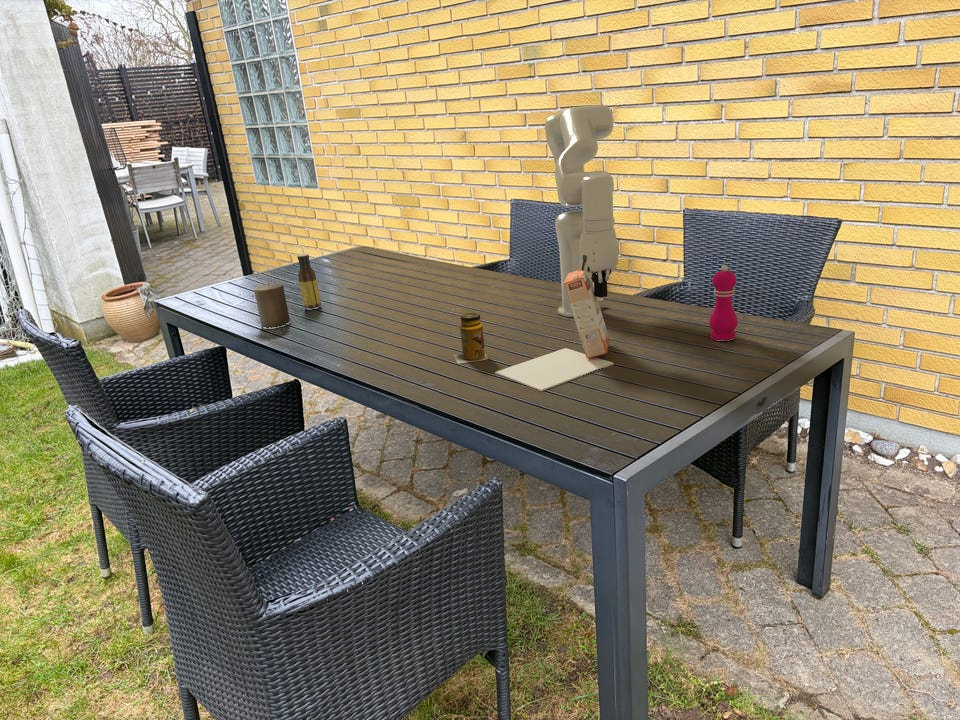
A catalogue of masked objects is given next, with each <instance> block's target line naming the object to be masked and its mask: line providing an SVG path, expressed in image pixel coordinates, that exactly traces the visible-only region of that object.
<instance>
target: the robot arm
mask: <svg viewBox="0 0 960 720" xmlns="http://www.w3.org/2000/svg"><path fill="white" fill-rule="evenodd" d="M613 130H614V116H613V112H612V110H611V109H610V107H609V106H608V105H605V104H593V105H582V106H573V107H570V108H568V109H566V110H565V111H563V112H560V113H556V114H552V115H550V116H549V117H547V118H546V121H545V123H544V134H545V138H546V142H547V145H548V147H549V150H550V153H551V154H552V157H553V160H554V165H555V168H554V169H555V170H554V178H555V184H556V188H557V189H556V190H557V199H558V202H559V204H560V205H561V206H563V207H582V209H581V210H580V209H579V210H571V211H566V212H562V213H560V214H559V215H557V217H556V219H555V222H554V226H555V233H556V238H557V242H558V243H557V244H558V248H559V249H558V250H559V261H560V262H559V265H560V285H561V302H562V304H561V306H559V307H558V308H557V313H558V314H559V315H560V316H563V317H569V318H574V316H573V313H572V310H571V306H570V303H569V300H568V297H567V294H566V290H565V287H564V284H563V283H564V281H565V279H566V277H567V275H568V273H571V272H574V271H577V270H581V271H584V273H583V275H585V276H586V278H591V280H592V282H593V286H594V295H595V296H596V297H597V299H598V302H600V301H604V299H605V298H606V297H608V281H610V276H611V273H613V272H615V271H616V270H617V266H618V263H619V248H618V247H619V245H618V240H617V238H618V237H617V233H616V229H615V228H614V225H615V221H616V220H615V218H614V198H613V197H614V196H613V195H614V189H615V183H614V177H613V176H612V175H611V174H610V172H608V171H606V170H594V171H593V170H592V171H585V166H584V165H585V164H587V163H589V162H590V161H592V160H593V159H594V158H595V157H596V155H597V153H598V150H599V145H598V144H599V143H598V141H601V140H603V139H605V138H607V137H608V138H609V136H610V135H612V132H613Z"/></svg>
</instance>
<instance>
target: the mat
mask: <svg viewBox="0 0 960 720" xmlns="http://www.w3.org/2000/svg"><path fill="white" fill-rule="evenodd" d="M613 365H615V364H614V362H612V361H609V360H605V359H603V358H599V357H597V356H595V357H591V358H586V355H585V353H583V352H579V351H577V350H573V349H569V348H566V347H565V348H561V349H559V350H556V351H553V352H550V353H546V354H545V355H541V356H538V357H535V358H532V359H529V360H526V361H524V362H521V363H517V364H515V365H512V366H511V365H510V366H509V367H506V368H502V369H499V370H497V371H495V372H494V373H495V374H496V375H499V376H501V377H503V378H506V379H508V380H511V381H514V382H516V383H518V384H521V385H524V386H526V387H529V388H532V389H534V390H536V389H537V391H539V392H544V391H546V390H549V389H552V388H554V387H558V386H559V385H562V384H565V383H567V382H570V381H573V380H575V379H579V378H581V377H583V375H584V376H586V374H587V375H588V373H589V374H591V373H590V372H592V373H594V372H593V371H595V370H597V371H599V370H598V369H600V370H602V369H601V368H603V369H606V368H608V367H610V366H613ZM595 372H596V371H595Z"/></svg>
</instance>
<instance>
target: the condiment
mask: <svg viewBox="0 0 960 720" xmlns="http://www.w3.org/2000/svg"><path fill="white" fill-rule="evenodd" d="M481 321H482V320H481V315H480V314H479V313H477V312H468V313H464V314H462V315H461V316H460V326H459V331H460V337H461V338H460V340H461V348H462V350H461V351H462V353H458V354H453V355H452V356H453V358H454V360H455V361H456V363H457V364H458V365H461V364H465V363H472V362H474V363H475V362H479V361H485V360H489V359H490V358H489V357H488V356H487V354H486V353H485V351H486V350H485V340H484V339H485V337H484V330H483V329H484V327H483V324H482V323H481Z"/></svg>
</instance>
